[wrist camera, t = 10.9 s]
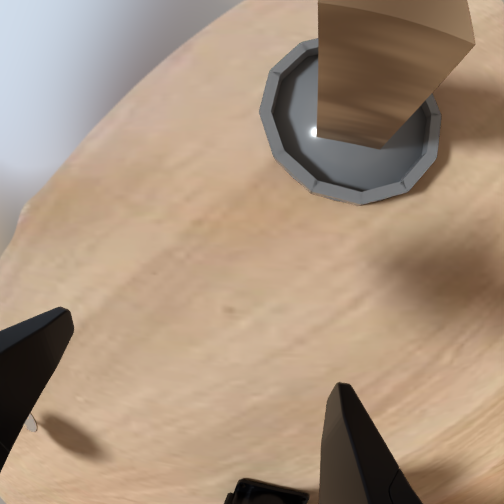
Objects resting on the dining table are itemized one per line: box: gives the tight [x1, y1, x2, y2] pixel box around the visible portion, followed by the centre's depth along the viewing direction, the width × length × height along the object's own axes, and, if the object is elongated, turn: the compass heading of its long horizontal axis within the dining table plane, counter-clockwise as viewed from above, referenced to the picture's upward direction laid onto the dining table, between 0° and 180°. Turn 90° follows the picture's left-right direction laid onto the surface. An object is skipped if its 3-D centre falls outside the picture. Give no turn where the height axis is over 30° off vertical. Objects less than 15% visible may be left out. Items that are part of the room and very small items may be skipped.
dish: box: [259, 38, 441, 206], centre depth 17 cm, size 11×11×2 cm
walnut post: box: [316, 0, 475, 150], centre depth 11 cm, size 4×4×13 cm
